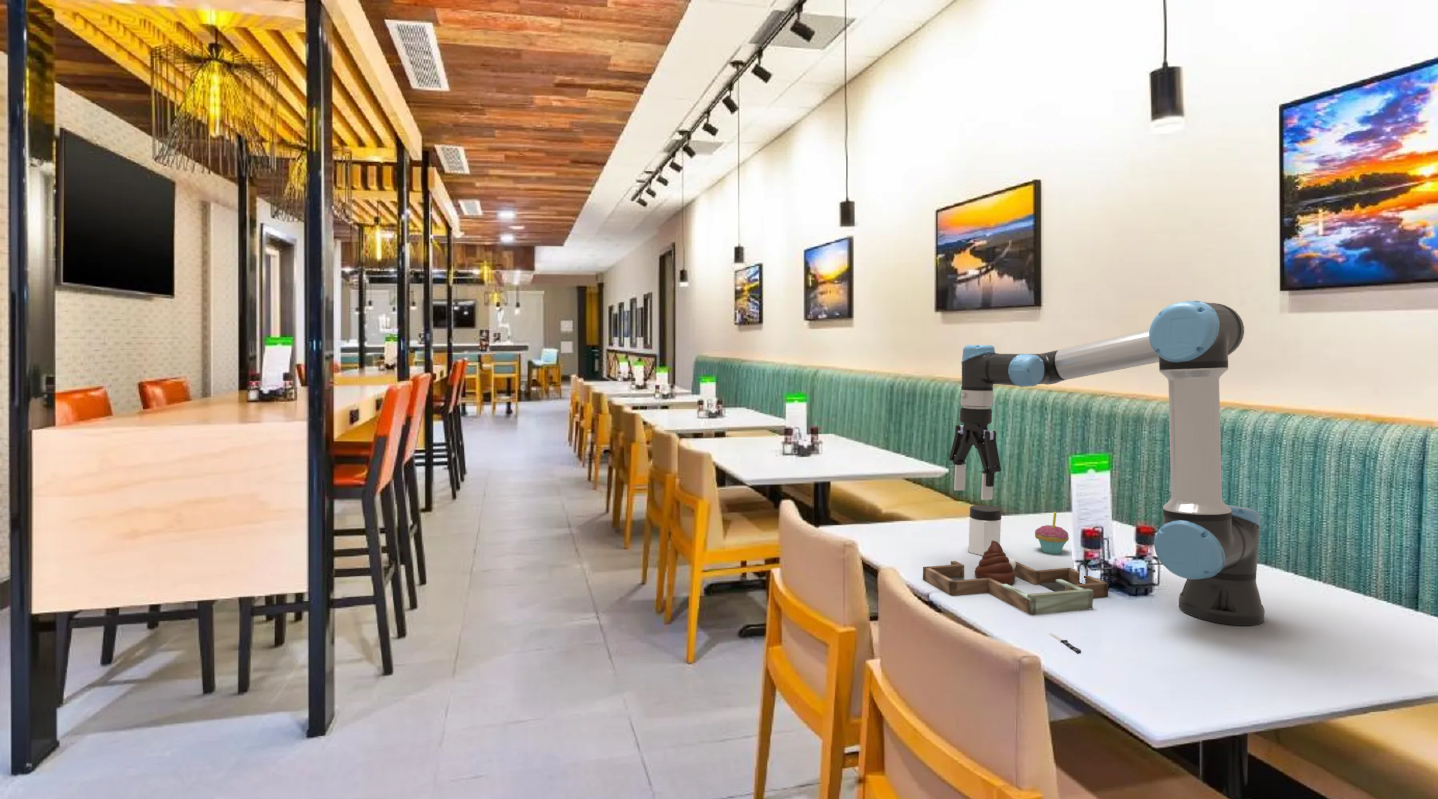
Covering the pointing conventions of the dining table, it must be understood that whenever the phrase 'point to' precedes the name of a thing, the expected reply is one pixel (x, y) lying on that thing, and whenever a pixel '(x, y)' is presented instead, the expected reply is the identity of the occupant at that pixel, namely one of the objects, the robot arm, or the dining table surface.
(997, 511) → the jar
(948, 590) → the box
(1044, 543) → the cupcake
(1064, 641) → the knife
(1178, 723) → the dining table surface
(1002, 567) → the poop emoji
